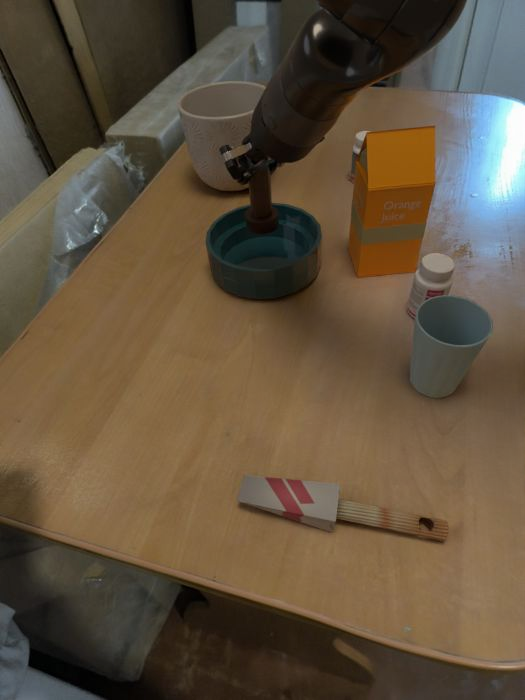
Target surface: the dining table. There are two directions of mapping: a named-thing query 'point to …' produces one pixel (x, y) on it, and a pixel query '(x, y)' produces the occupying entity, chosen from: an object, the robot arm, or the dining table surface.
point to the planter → (217, 126)
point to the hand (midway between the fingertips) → (252, 174)
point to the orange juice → (391, 200)
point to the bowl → (265, 253)
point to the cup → (446, 343)
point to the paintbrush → (329, 506)
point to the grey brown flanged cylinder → (261, 204)
